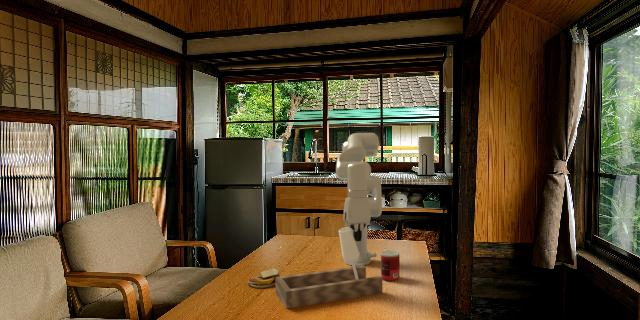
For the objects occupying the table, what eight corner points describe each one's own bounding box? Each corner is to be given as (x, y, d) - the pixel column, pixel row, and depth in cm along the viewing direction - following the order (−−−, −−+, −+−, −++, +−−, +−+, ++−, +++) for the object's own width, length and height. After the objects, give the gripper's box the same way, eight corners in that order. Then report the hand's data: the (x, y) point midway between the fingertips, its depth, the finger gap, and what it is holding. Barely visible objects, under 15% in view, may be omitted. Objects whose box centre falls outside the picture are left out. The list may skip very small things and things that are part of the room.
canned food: (400, 276, 169) (400, 251, 169) (398, 282, 162) (398, 256, 161) (383, 274, 172) (382, 249, 171) (379, 280, 164) (379, 254, 164)
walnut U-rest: (363, 279, 166) (363, 265, 165) (382, 293, 151) (382, 277, 150) (275, 292, 153) (275, 277, 152) (286, 308, 138) (286, 291, 137)
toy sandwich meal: (247, 279, 168) (247, 268, 168) (279, 277, 171) (279, 266, 171) (247, 290, 156) (247, 278, 156) (281, 287, 158) (281, 276, 158)
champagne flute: (356, 292, 152) (341, 234, 148) (347, 287, 158) (333, 231, 154) (370, 285, 155) (356, 227, 151) (361, 280, 160) (347, 225, 157)
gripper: (369, 192, 160) (370, 236, 161) (335, 194, 155) (336, 240, 156) (378, 194, 153) (379, 240, 154) (343, 196, 148) (344, 244, 149)
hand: (357, 240), depth 155 cm, fingers closed
